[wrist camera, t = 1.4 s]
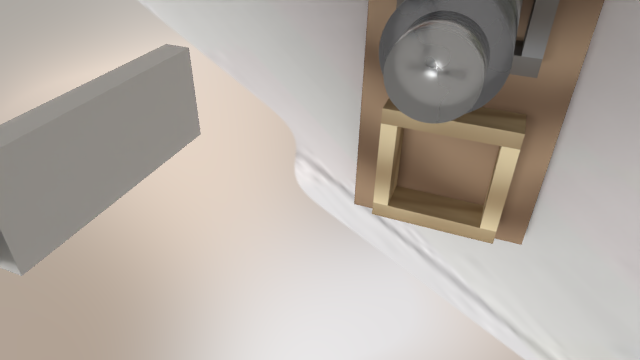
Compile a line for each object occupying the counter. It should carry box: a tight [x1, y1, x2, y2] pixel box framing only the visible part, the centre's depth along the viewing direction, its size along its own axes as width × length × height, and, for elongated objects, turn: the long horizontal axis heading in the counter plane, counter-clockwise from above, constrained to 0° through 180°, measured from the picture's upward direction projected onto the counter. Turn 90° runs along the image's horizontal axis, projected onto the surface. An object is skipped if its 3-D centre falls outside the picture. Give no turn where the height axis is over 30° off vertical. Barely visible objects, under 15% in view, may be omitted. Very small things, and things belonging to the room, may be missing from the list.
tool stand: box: [354, 0, 604, 244], centre depth 28 cm, size 22×12×4 cm, turn 179°
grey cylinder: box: [379, 0, 523, 124], centre depth 20 cm, size 4×4×14 cm
